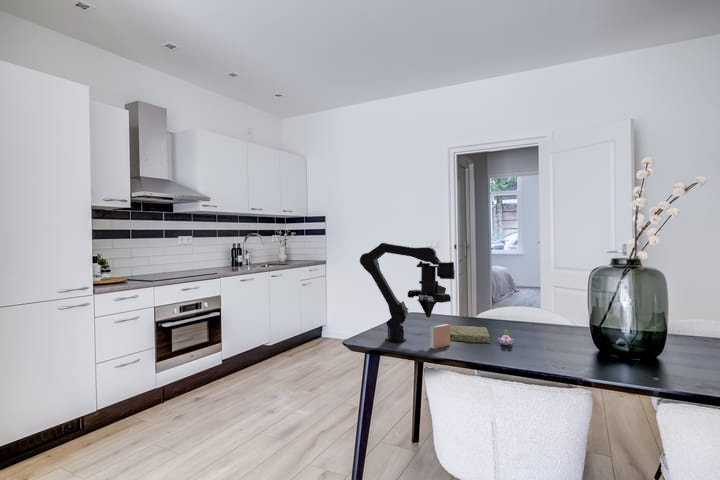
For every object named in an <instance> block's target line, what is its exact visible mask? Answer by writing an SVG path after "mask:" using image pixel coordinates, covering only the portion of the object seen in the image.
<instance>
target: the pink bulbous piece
mask: <svg viewBox="0 0 720 480" xmlns="http://www.w3.org/2000/svg"><path fill="white" fill-rule="evenodd" d="M497 340H498V341H499V342H500V344H502V345H504V346H509V345H511V344H512V343H514V341H515V338H511V337H510V336H509V332H508V330H507V329H505V330H504V332H503V335H502V336H501V338H500V337H498V338H497Z"/></svg>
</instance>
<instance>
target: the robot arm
mask: <svg viewBox="0 0 720 480" xmlns="http://www.w3.org/2000/svg"><path fill="white" fill-rule="evenodd" d="M385 254H392V255H400V256H407V257H411V258H415V259H416V260H419V263H418V264H417V265H416V268H421V270H420V275H421V276H420V280H419V281H418V284H420V286H421V287H420V289H410V290H409V291H407V298H411V299H412V298H414V297H418V299H416V300H417V302H418V303H419V304H420V306H421V308H422V310H423V312H424V315H425V316H426V318H430V317H431V314H432V313H433V310H434V307H435V305H436V304H437V303H448V302H449V303H450V302H451V295H450V294H449V293H446V291H447V288H446V287H445V286H442V285H440V284H439V280H436V279H437V278H436V276H437V277H439V279H440V280H455V278H456V277H455V273H456V272H455V271H456V269H455V262H454V261H449V262H447V261H445V262H444V261H443V262H441V260H440V259H439V257H438V256H437V252H436V250H435V248H433V247H431V246H430V247H429V246H427V247H424V246H423V247H411V246H405V245H397V244H393V243H392V244H391V243H388V242H380V244H379V245H378V246H376V247H375V248H373V249H371V250H370V251H368V252H366V253H365V252H364V253H363V254H361V255H360V258H359V263H360V265H361V266H362V267H363V269H364V270H365V271H366V272H367V273H368V274H369V275H370V276H371V277H372V279H373V281H374V283H375V284H376V286H377V288H378V290H379V291H380V293H381V295H382V297H383V298H384V300H385V302H386V304H387V306H388V312H389V314H390V316H391V317H390V318H389V319H388V320H387V321H386V327H387V337H386V338H384V340H385V341H388V342H391V343H394V344H396V343H401V342H405V341H407V339H406V338H405V331H404V325H403V324H404V322H405V321H406V320H407V319H408V317H409V308H408V307H407V306H406V303H405V301H404V300H403V301H400V300H398V299H397V296H396V295H395V294H394V292H393V290H392V289H391V286H390V285H389V283H388V281H387V280H386V278H385V276H384V274H383V273H382V271H381V268H380V267H381V266H380V264H379V260H378V259H380V258H381V257H382V256H383V255H385ZM431 264H432V265H431Z"/></svg>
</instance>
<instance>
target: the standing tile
mask: <svg viewBox="0 0 720 480" xmlns="http://www.w3.org/2000/svg"><path fill="white" fill-rule="evenodd" d="M450 326H451V325H450V324H448V323H445V324H444V323H443V324H439V325H434V326H430V332H429V333H430V334H429V335H430V339H429V340H430V349H439V348H443V347H447V346H451V340H450Z"/></svg>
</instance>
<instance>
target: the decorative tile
mask: <svg viewBox="0 0 720 480" xmlns="http://www.w3.org/2000/svg"><path fill="white" fill-rule="evenodd" d="M450 341H455V342H456V341H457V342H465V341H466V343H485V342H486V343H488V344H489V343H491V337H490V334H489V330H488V329H487V327H485V326H470V325H469V326H463V325H450ZM486 343H485V344H486Z"/></svg>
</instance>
